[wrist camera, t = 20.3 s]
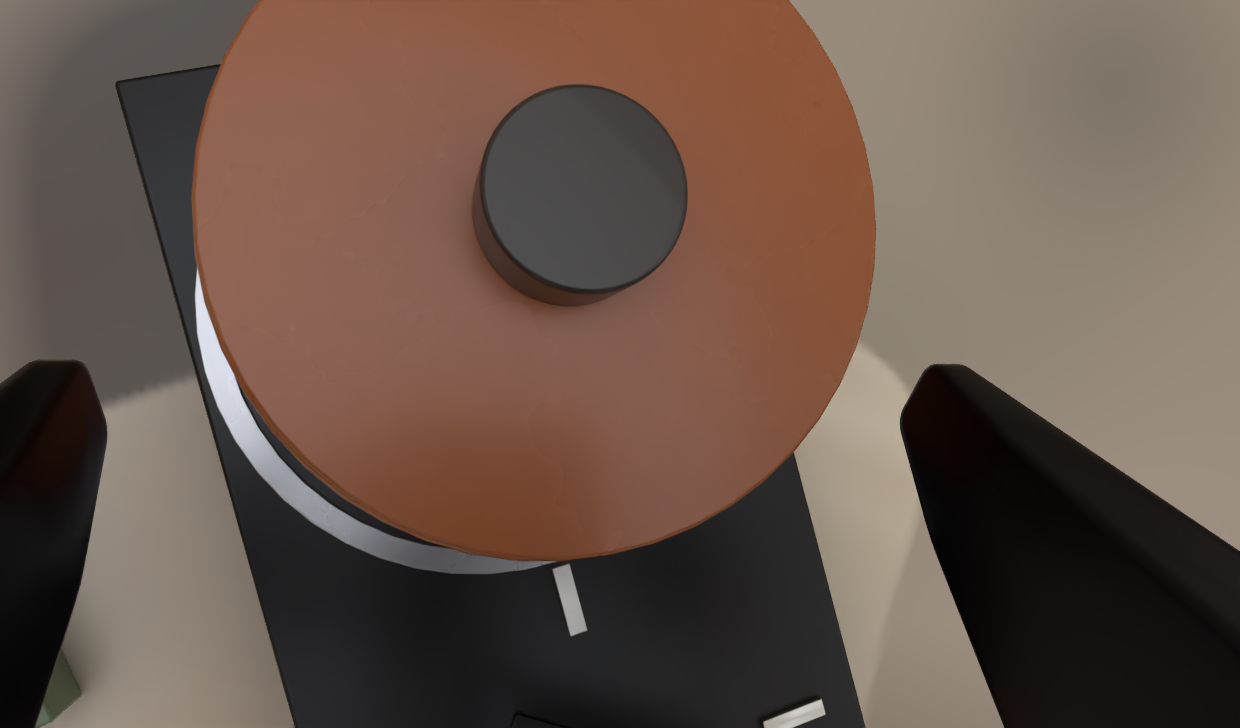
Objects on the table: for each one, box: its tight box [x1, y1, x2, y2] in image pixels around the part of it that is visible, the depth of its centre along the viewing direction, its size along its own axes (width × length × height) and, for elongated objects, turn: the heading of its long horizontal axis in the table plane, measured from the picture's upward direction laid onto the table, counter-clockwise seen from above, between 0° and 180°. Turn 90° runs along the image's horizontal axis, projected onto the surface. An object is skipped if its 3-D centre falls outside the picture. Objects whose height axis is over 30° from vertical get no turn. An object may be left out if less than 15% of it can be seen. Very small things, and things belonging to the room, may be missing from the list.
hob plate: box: [194, 269, 558, 574], centre depth 16 cm, size 11×11×1 cm
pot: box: [191, 0, 876, 562], centre depth 12 cm, size 7×7×9 cm
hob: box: [116, 64, 865, 728], centre depth 18 cm, size 20×11×2 cm, turn 15°
